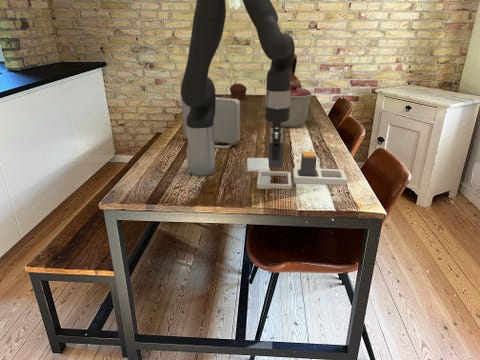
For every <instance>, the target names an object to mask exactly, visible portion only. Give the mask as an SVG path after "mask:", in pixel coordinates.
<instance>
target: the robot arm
mask: <svg viewBox="0 0 480 360" xmlns="http://www.w3.org/2000/svg"><path fill="white" fill-rule="evenodd" d="M242 3H243V7H244V8H245V11H246V13H247V15H248V16H249V18H250V20H251V22H252V25H253V26H254V27H255V29H256V33H257V37H258V40H259V43H260V46H261V48H262V51H263V53H264V54H265V56H266V57H267V58H268V59H269V60H270V61H271V64H270V68H269V69H268V71H267V74H266V84H265V85H266V90H265V101H264V103H265V105H264V120H265V121H267V122H269V123H272V124H270V127H269V129H270V130H269V131H270V137H271V141H272V160H279V150H280V148H281V147H280V142H281V141H282V137H283V132H284V126H283V125H281V122H286V121H288V120H289V114H290V73H291V69H292V64H293V59H294V54H296V53H295V50H296V48H295V47H296V46H295V41H294V39H293V37H292V36H291V35H290V34H288V33H282V30H281V28H280V25H279V24H278V21H279V17H278V16H279V15H278V13H277V11H276V9H275V7H274V4H273V3H272V1H271V0H242ZM226 16H227V4H226V0H196V3H195V9H194V14H193V22H192V26H191V35H190V40H189V41H190V42H189V49H188V55H187V61H186V66H185V69H184V73H183V77H182V81H181V85H180V96H181V97H180V98H181V99H182V100H183V102H184V103H185V104H186V105H187V106H189V107H191V108H190V112H189V114H188V116H187V118H186V123H187V137H188V138H187V137H186V138H187V147H186V160H187V172H188V174H192V176H193V175H194V176H199V177H200V176H208V175H212V174H214V173H215V172H216V151H215V148H216V147H214V145H215V144H214V117H215V106H216V97H217V95H216V87H215V84H214V82H213V80H212V79H211V78H210V77H209V76H208V75H209V70H210V68H211V67H210V66H211V64H212V61H213V59H214V56H215V55H216V52H217V50H218V48H219V46H220V43H221V40H222V39H223V38H222V37H223V33H224V29H225V23H226ZM274 143H277V144H279V146H278V145H274Z"/></svg>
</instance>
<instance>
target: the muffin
mask: <svg viewBox="0 0 480 360" xmlns="http://www.w3.org/2000/svg"><path fill="white" fill-rule="evenodd" d="M247 90H248V89H247V86H245V85H244V84H243V83H235V84H233V85H231V86H230V88H229V91H230V97H231V99H238V100H239V101H240V102H241V101H244V100H245V99H246V96H247V95H246V94H247Z"/></svg>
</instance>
